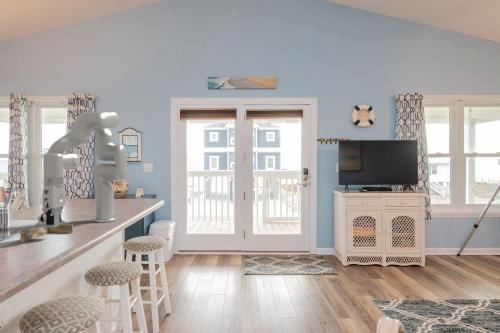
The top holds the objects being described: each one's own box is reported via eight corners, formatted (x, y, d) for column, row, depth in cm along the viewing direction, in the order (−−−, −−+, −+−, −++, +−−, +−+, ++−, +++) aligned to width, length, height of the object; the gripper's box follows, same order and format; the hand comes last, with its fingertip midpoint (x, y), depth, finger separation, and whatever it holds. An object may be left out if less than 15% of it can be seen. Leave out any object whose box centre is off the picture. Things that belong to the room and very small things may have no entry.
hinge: (53, 231, 157) (45, 211, 156) (42, 235, 156) (34, 215, 155) (66, 224, 173) (59, 206, 172) (57, 227, 172) (50, 209, 172)
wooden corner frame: (48, 232, 156) (48, 223, 156) (73, 232, 156) (73, 224, 155) (20, 241, 138) (20, 232, 138) (48, 242, 138) (48, 232, 137)
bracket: (59, 225, 146) (59, 207, 146) (54, 227, 142) (54, 208, 142) (41, 225, 147) (41, 206, 146) (35, 226, 143) (35, 208, 142)
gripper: (50, 183, 135) (50, 228, 136) (73, 180, 152) (73, 220, 153) (31, 182, 136) (32, 227, 136) (56, 180, 152) (56, 220, 153)
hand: (53, 223), depth 144 cm, fingers closed on bracket, 4 cm apart
